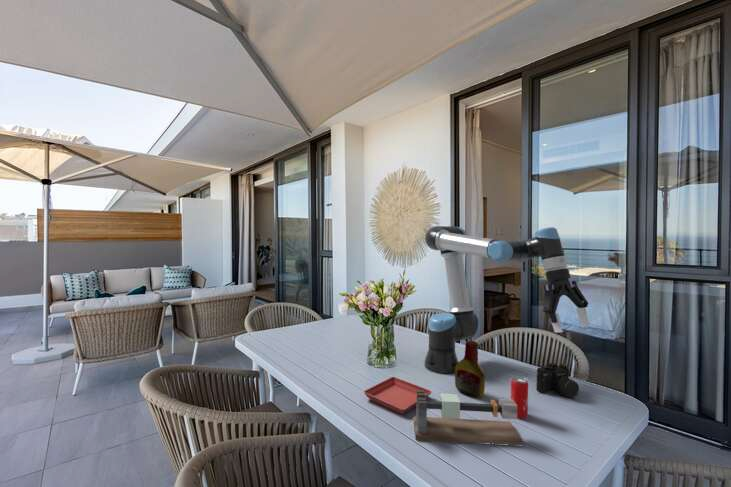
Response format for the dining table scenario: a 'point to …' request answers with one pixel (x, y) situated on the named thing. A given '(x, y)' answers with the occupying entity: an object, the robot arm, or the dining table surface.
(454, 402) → the sleeve
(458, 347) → the dining table surface
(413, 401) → the plant saucer
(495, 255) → the robot arm
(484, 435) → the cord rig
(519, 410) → the beverage can
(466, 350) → the bottle
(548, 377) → the camera
